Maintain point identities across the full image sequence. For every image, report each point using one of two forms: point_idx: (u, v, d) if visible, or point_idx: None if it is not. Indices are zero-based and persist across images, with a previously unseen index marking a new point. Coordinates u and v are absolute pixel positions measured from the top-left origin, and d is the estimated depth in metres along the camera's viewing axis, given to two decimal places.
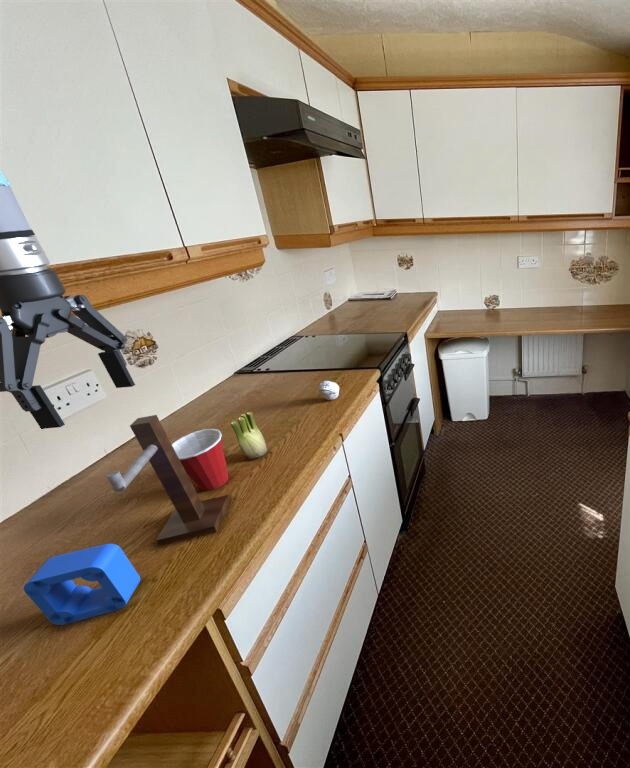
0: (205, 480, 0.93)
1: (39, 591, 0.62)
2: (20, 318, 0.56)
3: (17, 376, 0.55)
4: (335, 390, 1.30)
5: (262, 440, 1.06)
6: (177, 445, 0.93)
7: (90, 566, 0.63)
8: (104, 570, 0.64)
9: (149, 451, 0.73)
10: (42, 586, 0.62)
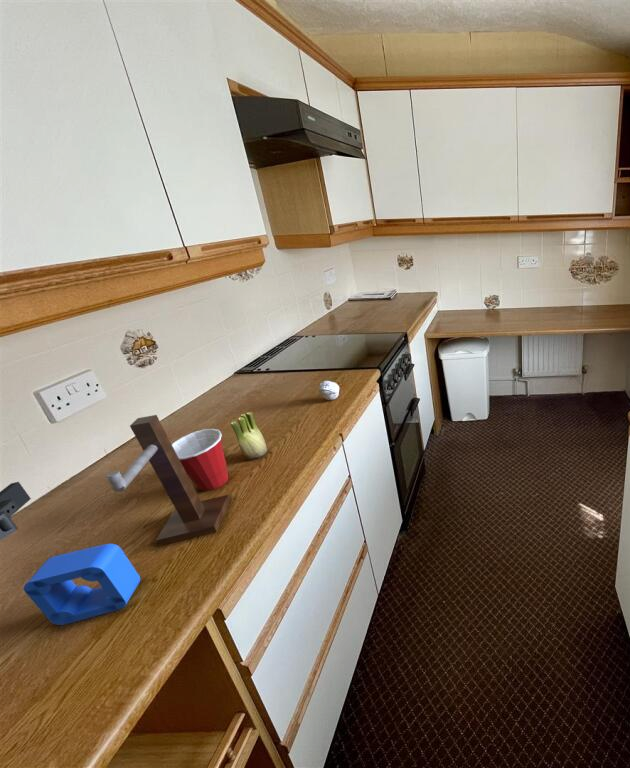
0: (205, 480, 0.93)
1: (39, 591, 0.62)
2: None
3: None
4: (335, 390, 1.30)
5: (262, 440, 1.06)
6: (177, 445, 0.93)
7: (90, 566, 0.63)
8: (104, 570, 0.64)
9: (149, 451, 0.73)
10: (42, 586, 0.62)
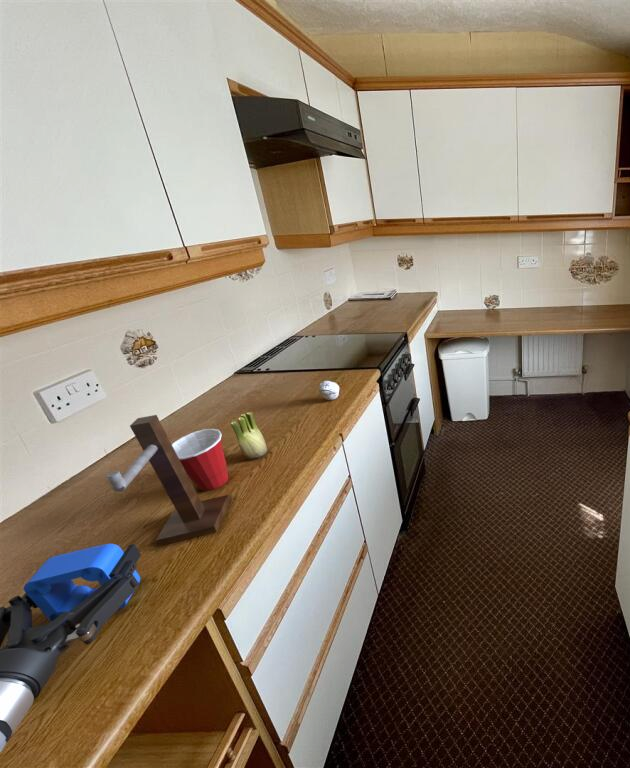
0: (205, 480, 0.93)
1: (39, 591, 0.62)
2: None
3: None
4: (335, 390, 1.30)
5: (262, 440, 1.06)
6: (177, 445, 0.93)
7: (90, 566, 0.63)
8: (104, 570, 0.64)
9: (149, 451, 0.73)
10: (42, 586, 0.62)
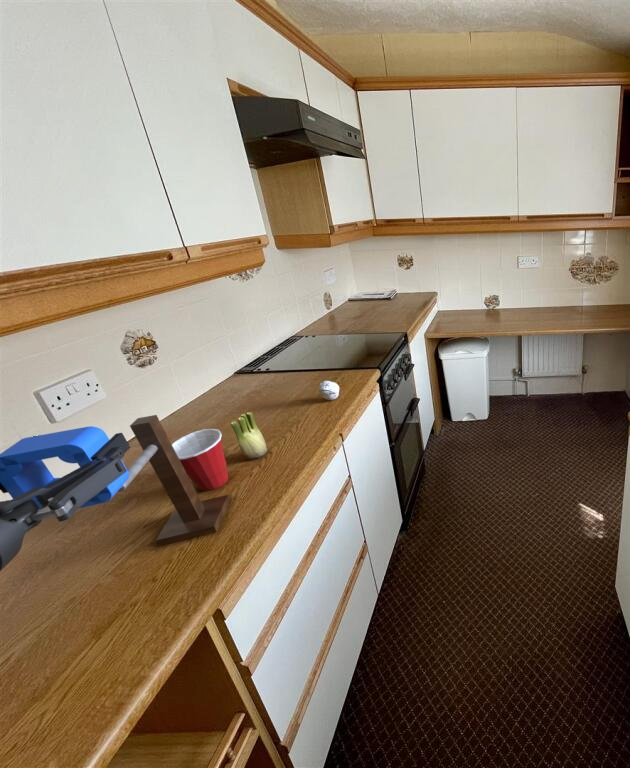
0: (205, 480, 0.93)
1: (8, 470, 0.53)
2: None
3: None
4: (335, 390, 1.30)
5: (262, 440, 1.06)
6: (177, 445, 0.93)
7: (68, 444, 0.54)
8: (85, 450, 0.55)
9: (149, 451, 0.73)
10: (11, 465, 0.53)
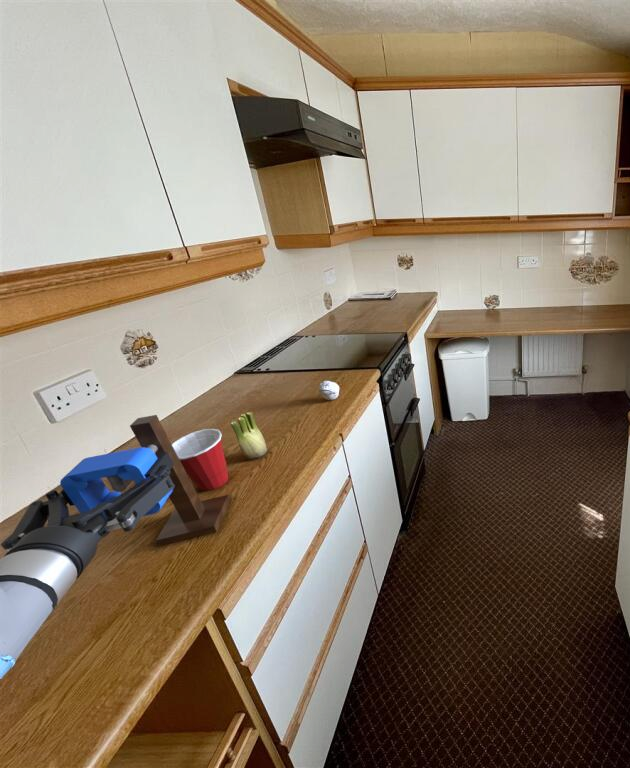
0: (205, 480, 0.93)
1: (75, 487, 0.61)
2: None
3: None
4: (335, 390, 1.30)
5: (262, 440, 1.06)
6: (177, 445, 0.93)
7: (126, 463, 0.62)
8: (140, 469, 0.63)
9: None
10: (78, 482, 0.61)
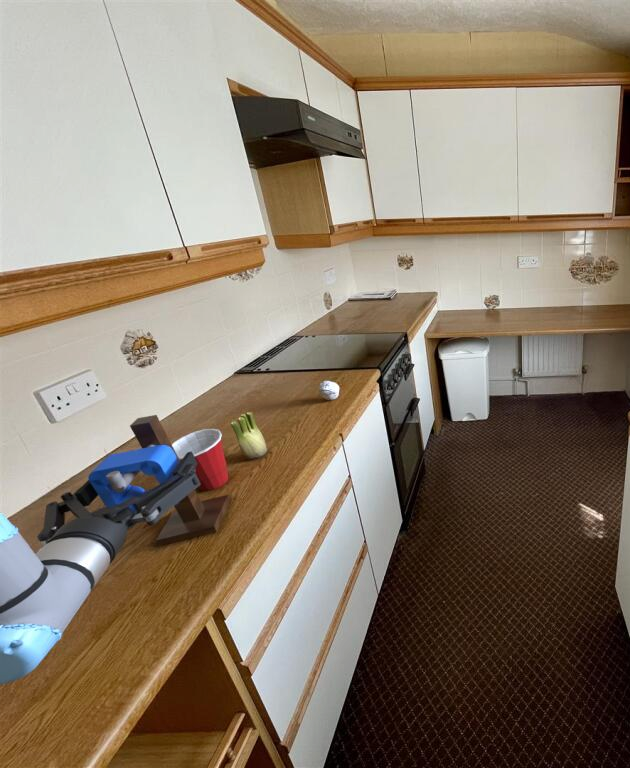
0: (205, 480, 0.93)
1: (102, 481, 0.67)
2: None
3: (70, 510, 0.64)
4: (335, 390, 1.30)
5: (262, 440, 1.06)
6: (177, 445, 0.93)
7: (148, 460, 0.68)
8: (161, 465, 0.69)
9: None
10: (104, 477, 0.66)
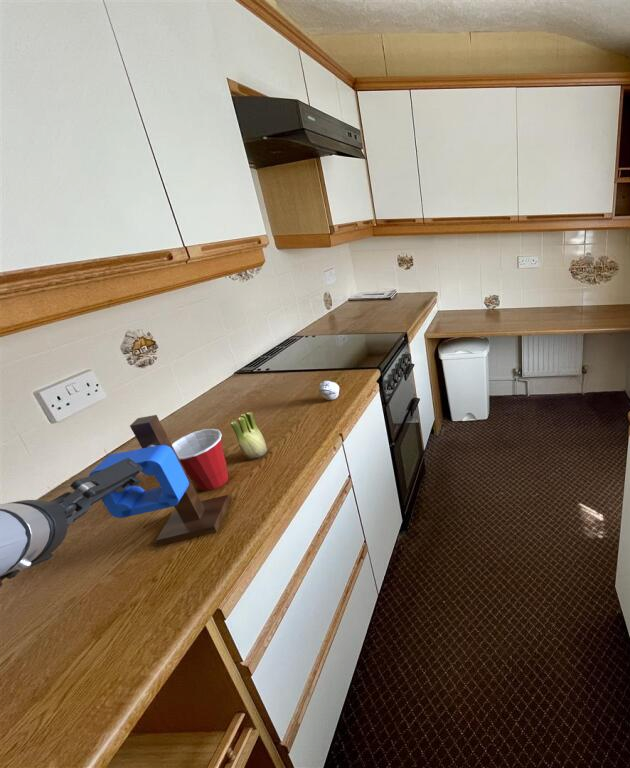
0: (205, 480, 0.93)
1: None
2: None
3: None
4: (335, 390, 1.30)
5: (262, 440, 1.06)
6: (177, 445, 0.93)
7: (148, 460, 0.68)
8: (161, 465, 0.69)
9: None
10: None
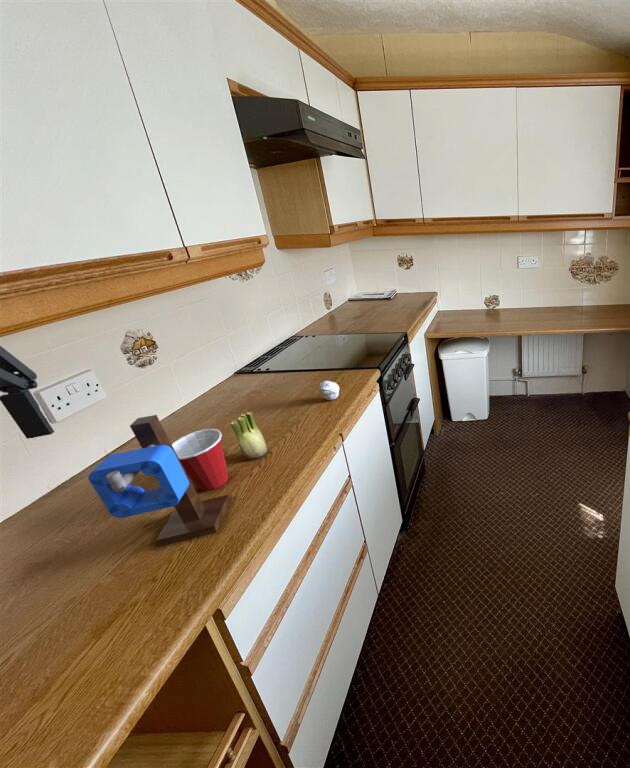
0: (205, 480, 0.93)
1: (102, 481, 0.67)
2: None
3: None
4: (335, 390, 1.30)
5: (262, 440, 1.06)
6: (177, 445, 0.93)
7: (148, 460, 0.68)
8: (161, 465, 0.69)
9: None
10: (104, 477, 0.66)
